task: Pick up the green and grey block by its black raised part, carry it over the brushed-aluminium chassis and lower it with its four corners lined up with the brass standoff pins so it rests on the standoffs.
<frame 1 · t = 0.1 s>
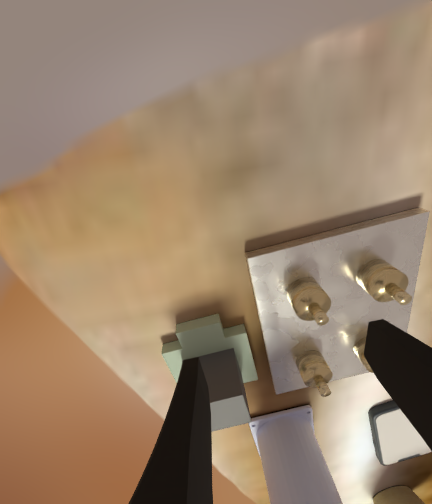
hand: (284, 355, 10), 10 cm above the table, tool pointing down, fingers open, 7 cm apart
green and grey block: (212, 357, 25), on the table
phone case: (398, 422, 36), on the table
plant pot: (390, 492, 47), on the table
chassis: (332, 313, 23), on the table
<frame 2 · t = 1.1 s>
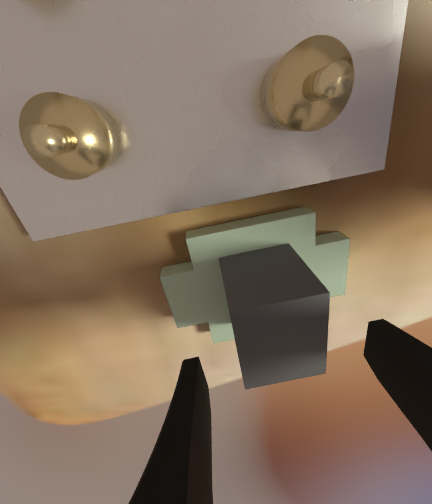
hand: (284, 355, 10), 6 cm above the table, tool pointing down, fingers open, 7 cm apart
green and grey block: (253, 275, 16), on the table
chassis: (172, 32, 10), on the table
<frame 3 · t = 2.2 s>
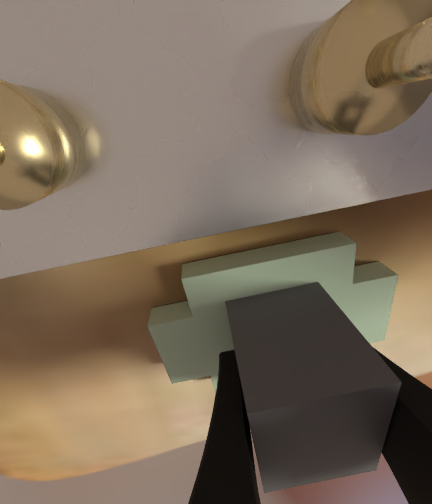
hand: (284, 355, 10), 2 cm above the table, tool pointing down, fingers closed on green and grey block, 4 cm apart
green and grey block: (268, 316, 12), on the table, touching gripper
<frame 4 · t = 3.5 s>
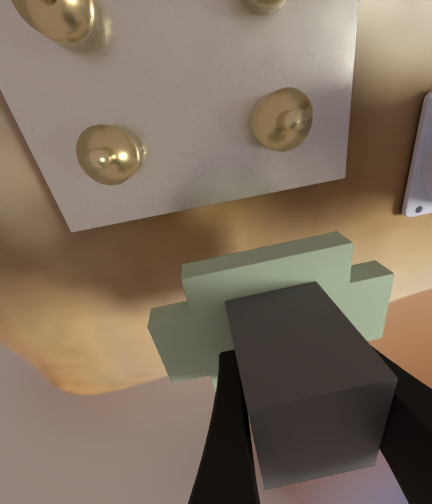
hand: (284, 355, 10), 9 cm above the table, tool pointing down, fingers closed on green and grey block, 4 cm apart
green and grey block: (267, 315, 12), point 7 cm above the table, touching gripper
chassis: (183, 77, 13), on the table
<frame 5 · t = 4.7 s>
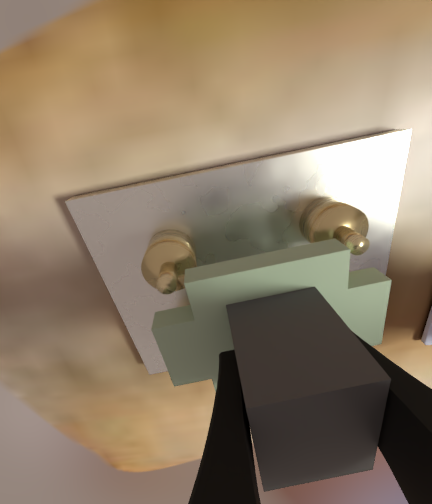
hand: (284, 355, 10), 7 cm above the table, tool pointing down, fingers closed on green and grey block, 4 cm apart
green and grey block: (267, 320, 13), point 4 cm above the table, touching gripper
chassis: (249, 269, 16), on the table
when the fingers open (6 cm above the table, at t = 5.3 s): green and grey block stays where it is, resting on chassis.
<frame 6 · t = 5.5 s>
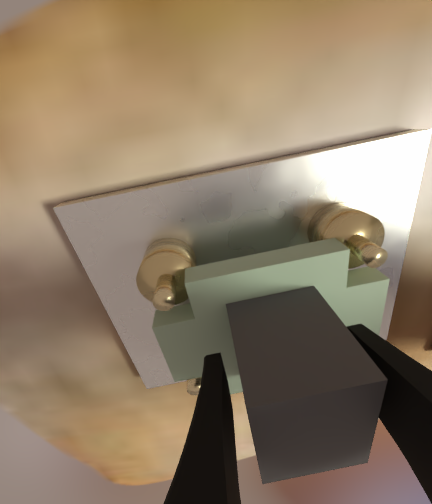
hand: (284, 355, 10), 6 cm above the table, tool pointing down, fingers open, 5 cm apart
green and grey block: (266, 317, 13), point 3 cm above the table, touching chassis
chassis: (253, 279, 15), on the table
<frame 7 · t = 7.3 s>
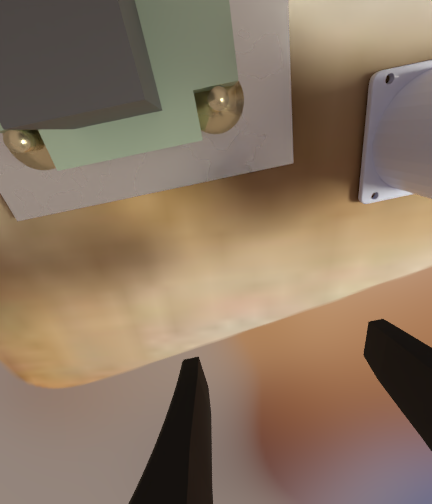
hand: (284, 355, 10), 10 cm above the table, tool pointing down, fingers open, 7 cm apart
green and grey block: (104, 56, 11), point 3 cm above the table, touching chassis
chassis: (118, 60, 13), on the table
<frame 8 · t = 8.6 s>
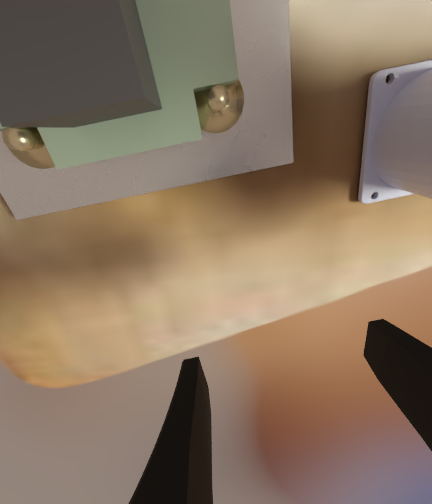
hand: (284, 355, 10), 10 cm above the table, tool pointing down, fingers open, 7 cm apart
green and grey block: (104, 55, 10), point 3 cm above the table, touching chassis
chassis: (118, 59, 13), on the table
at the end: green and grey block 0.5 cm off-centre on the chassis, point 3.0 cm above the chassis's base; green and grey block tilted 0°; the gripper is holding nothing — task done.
